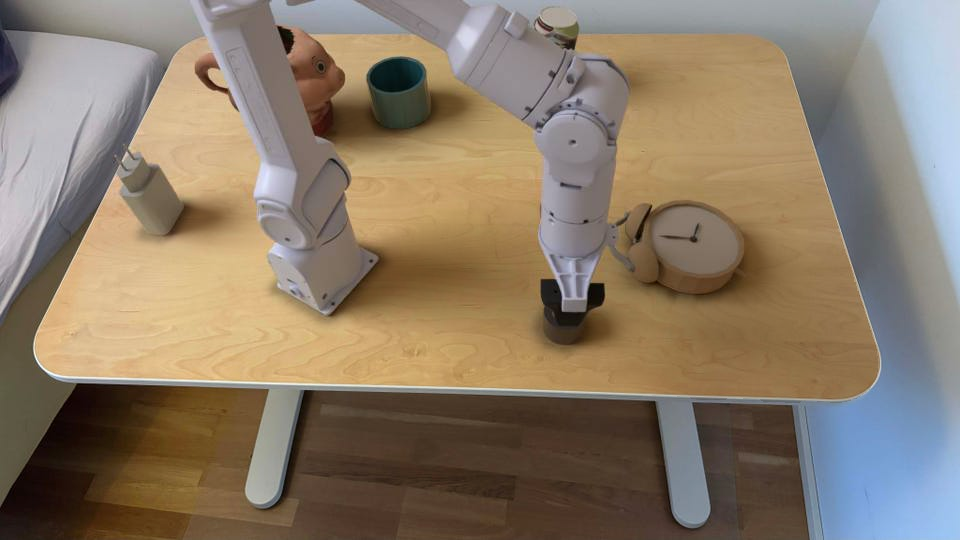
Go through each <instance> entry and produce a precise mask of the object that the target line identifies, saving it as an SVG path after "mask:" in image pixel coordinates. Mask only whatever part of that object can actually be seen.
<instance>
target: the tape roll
mask: <svg viewBox="0 0 960 540" xmlns="http://www.w3.org/2000/svg"><path fill="white" fill-rule="evenodd" d="M585 322H586V316H585V317H584V319H583V320H582V322H581V323H580V324H579V325H578V326H558V324H557V323H556V320H555V317H554V314H553V312H552V310H551V309H550V308H549V307H547V306H545V305H543V317H542V330H543V333H544V335H545V337H546V338H547V339H548V340H549V341H551V342H552V343H555V344H556V345H564V346H565V345H570V344H571V345H572V344H574V343H575V342H577V341H579V339H581V337H582V335H583V333H584V329H585Z"/></svg>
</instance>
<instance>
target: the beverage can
mask: <svg viewBox="0 0 960 540" xmlns="http://www.w3.org/2000/svg"><path fill="white" fill-rule="evenodd" d="M532 28H533V29H535V30H536V31H538V32H539V33H540V34H542V35H543V36H545V37H546V38H548V39H549V40H551V41H552V42H554V43H555V44H557V45H558V46H560V47H561V48H562V49H564V48H566V49H568V50H570V49H572V50H574V51H575V49H576V45H577V41H578V37H579V33H580V26H579V23H578V16H577V15H576V13H574V12H573V10H571V9H569V8H566V7H562V6H557V5H555V6H551V5H550V6H547V7H544V8H543V9H541V11H540V12H539V14H538V15H537V16H536V18H535V19H534V22H533V27H532Z"/></svg>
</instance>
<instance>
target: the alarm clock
mask: <svg viewBox="0 0 960 540" xmlns="http://www.w3.org/2000/svg"><path fill="white" fill-rule="evenodd" d="M652 209H653V204H651V203H645V202H641V203H638V204H637V205H636V206H635V207H633V208H632V210H630V211H629V212H628V211H625V212H624V214H623V215H624V217H622V218H620V219H618V220H616V221H615V222H614V223H613V224H615V225H616V226H617V228H618V227H619V226H622V225H623V224H624V231H625V235H626V237H627V238H628V239H630V240H631V241H632V243H633V245H632V246H631V247H629V250H628V252H627V257H626V256H625V255H623V254H622V253H621V252H620V251H619V250H618V249H617V248H616V247H615V246H616V245H613V246H608V248H609V251H610V253H611V254H612V256H613V257H614V258H615V259H616V260H617V261H619V262H620V263H622V264H623V265H624V266H625V267H627V271H629V272H630V273H631V275H632V276H633V278H635V279H636V280H638V281H639V282H641V283H644V284H649V283H650V284H651V283H654V282H658V283H659V284H661V285H663V286H665V287H666V288H669V289H670V290H674V291H676V292H679V293H685V294H690V295H698V294H699V295H700V294H709V293H711V292H714V291H716V290H719V289H721V288H722V287H724V286H725V285H726V284H727V283H728V282H730V280H731V279H732V277H733V275H734V274H736V275H738V276H740V277H742V278H745V276H746V275H747V274H746V273H745V272H744V271H743V270H742V269H740V268H738V267H739V265H740V263H741V262H742V259H743V257H744V254H745V240H744V237H743V235H742V232H741V230H740V228H739V226H738V225H737V224H736V222H734V220H732V218H731V217H730V216H728V215H727V214H726V213H725V212H723V211H721V210H720V209H719V208H717V207H714V206H712V205H709V204H708V203H705V202H701V201H697V200H689V199H681V200H680V199H679V200H671V201H668V202H665V203H662V204H659V205H658V206H657V207H656V208H654V209H653V210H652Z"/></svg>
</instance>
